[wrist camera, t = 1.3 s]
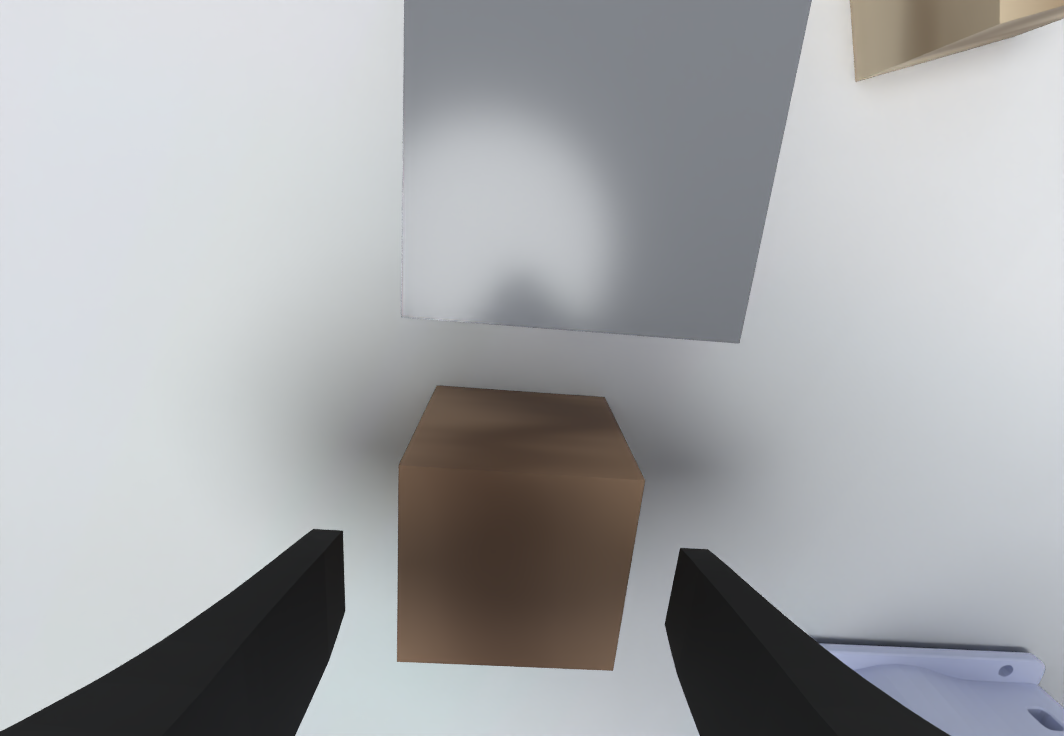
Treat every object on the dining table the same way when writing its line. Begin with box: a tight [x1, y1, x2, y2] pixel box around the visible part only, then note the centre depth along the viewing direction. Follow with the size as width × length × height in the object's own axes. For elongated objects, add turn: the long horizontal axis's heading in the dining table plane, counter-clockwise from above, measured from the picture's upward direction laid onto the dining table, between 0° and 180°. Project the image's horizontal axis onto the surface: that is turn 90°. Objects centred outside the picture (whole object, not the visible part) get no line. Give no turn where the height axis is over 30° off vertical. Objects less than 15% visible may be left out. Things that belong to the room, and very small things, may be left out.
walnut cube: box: [397, 386, 645, 671], centre depth 13 cm, size 5×5×5 cm
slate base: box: [401, 0, 812, 343], centre depth 12 cm, size 8×8×2 cm
